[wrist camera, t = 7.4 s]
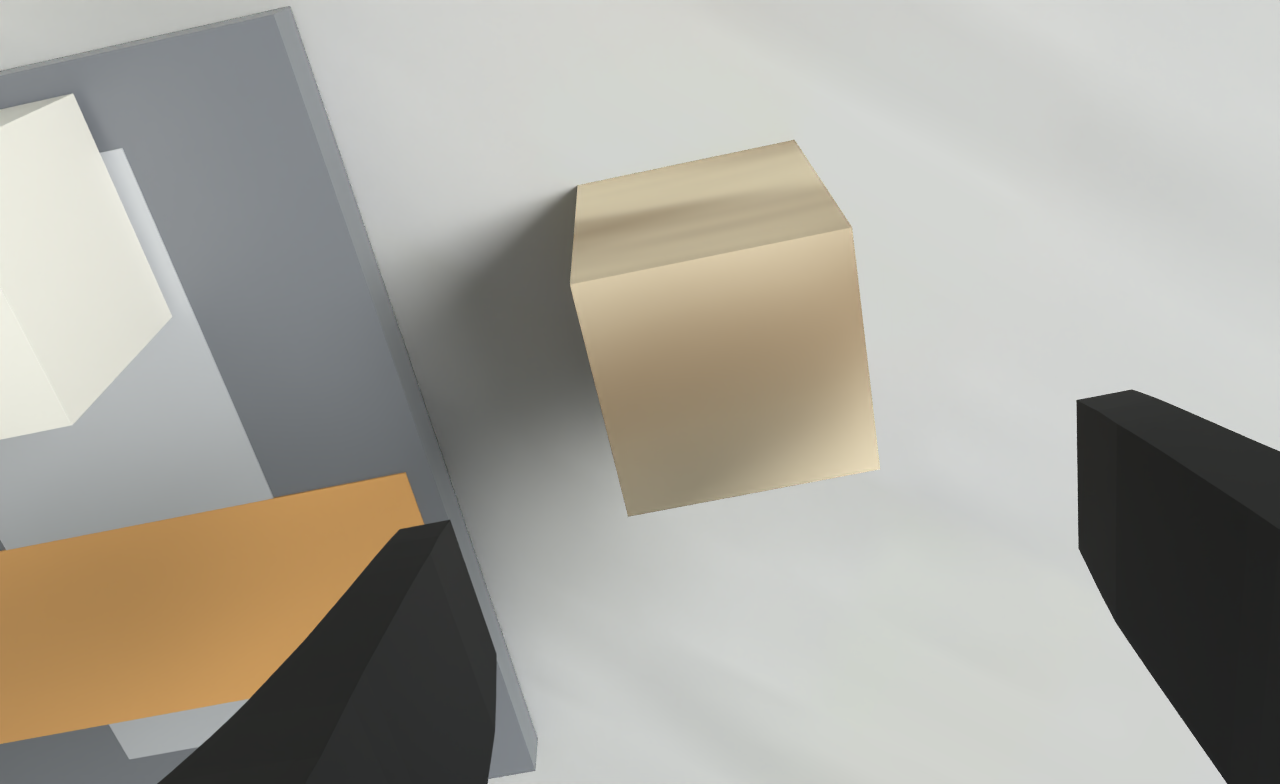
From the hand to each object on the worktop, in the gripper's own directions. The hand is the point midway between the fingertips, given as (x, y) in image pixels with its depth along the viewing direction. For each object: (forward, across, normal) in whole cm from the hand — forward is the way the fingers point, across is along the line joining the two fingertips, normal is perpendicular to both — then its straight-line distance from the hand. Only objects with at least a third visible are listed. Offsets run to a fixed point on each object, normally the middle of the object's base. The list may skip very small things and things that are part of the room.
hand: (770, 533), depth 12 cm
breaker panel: (+9, +12, +2) cm, 15 cm away
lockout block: (+9, 0, 0) cm, 9 cm away
